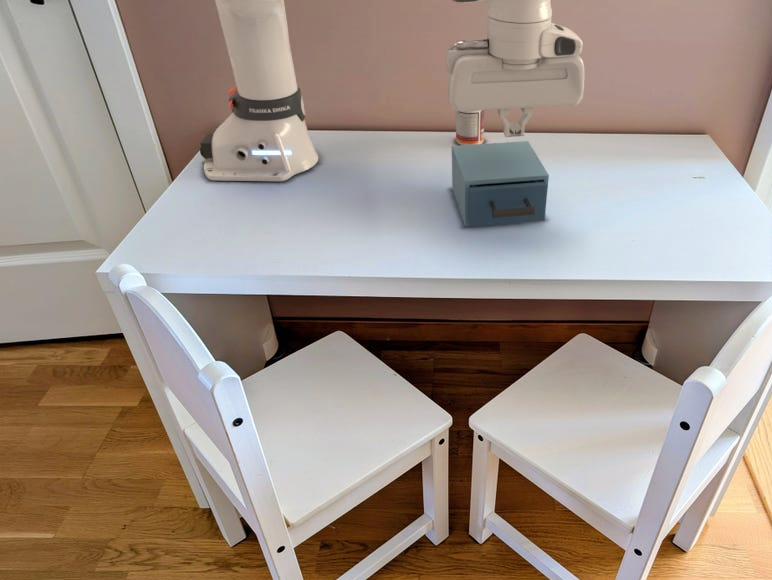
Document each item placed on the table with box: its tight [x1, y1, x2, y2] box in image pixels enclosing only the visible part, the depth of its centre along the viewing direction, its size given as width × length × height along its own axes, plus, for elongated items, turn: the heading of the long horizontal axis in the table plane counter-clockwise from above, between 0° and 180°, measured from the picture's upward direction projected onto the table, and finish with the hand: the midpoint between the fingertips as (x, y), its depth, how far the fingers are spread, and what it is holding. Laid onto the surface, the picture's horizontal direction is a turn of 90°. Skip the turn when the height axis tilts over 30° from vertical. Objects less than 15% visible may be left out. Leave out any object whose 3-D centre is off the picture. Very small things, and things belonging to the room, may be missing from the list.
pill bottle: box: [455, 110, 485, 145], centre depth 131 cm, size 6×6×11 cm
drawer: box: [469, 180, 549, 228], centre depth 108 cm, size 18×13×7 cm
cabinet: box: [451, 140, 550, 228], centre depth 111 cm, size 15×15×9 cm
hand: (513, 135), depth 95 cm, fingers closed
